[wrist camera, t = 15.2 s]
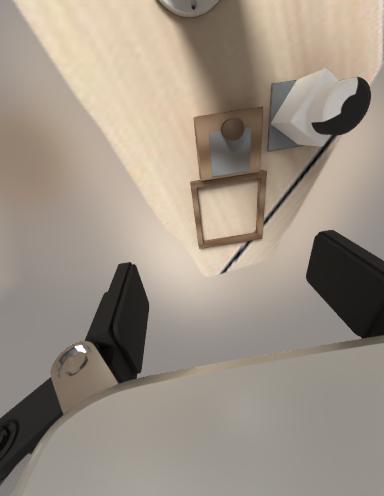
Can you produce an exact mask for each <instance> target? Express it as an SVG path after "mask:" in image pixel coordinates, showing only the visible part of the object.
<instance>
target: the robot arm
mask: <svg viewBox="0 0 384 496" xmlns="http://www.w3.org/2000/svg"><path fill="white" fill-rule="evenodd" d="M159 1H160V2H161V4H162V5H163V6H165V7H166V8H167V9H168V10H170V11H171V12H173V13H175V14H177V15H179V16H183V17H197V16H199V15H202V14H205V13H206V12H208V11H209V10H211V9H212V8H213V7H214V6H215V5H216V4H217V3H218V2H219V0H159ZM192 6H194V7H195V10H193V9H192ZM306 279H307V281H308V283H309V284H310V285H311V286H312V287H313V288H314V289H315V290H316V291H317V292H318V294H319V295H320V296H321V297H322V298H323V299H324V300H325V301H326V302H327V304H329V306H330V307H331V308H332V309H333V310H334V311H335V312H336V313H337V315H338V316H339V317H340V318H341V319H342V320H343V321H344V322H345V323H346V324H347V326H348V327H349V328H350V329H351V330H352V331H353V332H354V333H355V334H356V335H358V336H360V337H361V338H362V339H358V340H352V341H346V342H340V343H333V344H328V345H322V346H316V347H309V348H304V349H297V350H291V351H286V352H279V353H274V354H267V355H261V356H256V357H250V358H244V359H238V360H232V361H227V362H221V363H215V364H209V365H204V366H198V367H192V368H187V369H182V370H176V371H171V372H166V373H160V374H155V375H150V376H146V377H142V378H138V379H137V374H138V373H140V372H141V369H142V362H143V353H144V345H145V337H146V329H147V321H148V313H149V302H148V299H147V296H146V293H145V290H144V287H143V284H142V281H141V278H140V276H139V273H138V270H137V267H136V265H135V264H133V265H132V263H131V262H128V263H122V264H119V265H118V267H117V270H116V272H115V275H114V278H113V280H112V282H111V285H110V288H109V290H108V292H106V293H104V295H103V297H102V300H101V302H100V304H99V307H98V309H97V312H96V314H95V317H94V319H93V322H92V324H91V327H90V329H89V331H88V334H87V336H86V339H85V341H80V342H77V343H74V344H72V345H71V346H69V347H67V348H66V349H65V350H64V351H62V352H61V353H60V355H59V356H58V357H57V358H56V360H55V361H54V363H53V365H52V368H51V371H50V373H51V377H50V378H49V379H48V380H47V381H46V382H44V383H43V384H42V385H41V386H39V387H38V388H37V389H36V390H34V392H32V393H31V394H30V395H28V396H27V397H26V398H25V399H23V400H22V401H21V402H20V403H18V404H17V405H16V406H15V407H14V408H12V409H11V410H10V411H9V412H8V413H6V414H5V415H4V416H3V417H1V418H0V496H384V261H383V260H382V259H380V258H378V257H377V256H375V255H373V254H372V253H370V252H368V251H367V250H365V249H363V248H362V247H360V246H359V245H357V244H355V243H354V242H352V241H350V240H349V239H347V238H345V237H344V236H342V235H340V234H339V233H337V232H335V231H334V230H328V231H322V232H319V233H318V235H316V236H315V239H314V243H313V248H312V252H311V256H310V260H309V265H308V269H307V274H306Z"/></svg>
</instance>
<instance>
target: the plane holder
mask: <svg viewBox="0 0 384 496" xmlns="http://www.w3.org/2000/svg"><path fill="white" fill-rule="evenodd" d="M262 118H263V107H257V108H250V109H244V110H237V111H230V112H224V113H217V114H211V115H204V116H197V117H194V127H195V136H196V146H197V156H198V165H199V175H200V179H201V180H198V181H191V182H190V184H191V192H192V199H193V207H194V215H195V222H196V230H197V238H198V245H199V249H200V248H206V247H212V246H218V245H225V244H231V243H237V242H244V241H250V240H256V239H262V236H263V221H264V206H265V191H266V176H267V171H264V170H262V171H260V159H261V139H262ZM256 178H258V199H257V221H256V233H250V234H244V235H237V236H231V237H225V238H219V239H212V240H206V241H203V239H202V231H201V222H200V213H199V205H198V196H197V188H198V187H205V186H211V185H217V184H224V183H230V182H237V181H243V180H250V179H256Z"/></svg>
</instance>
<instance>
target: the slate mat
mask: <svg viewBox="0 0 384 496" xmlns="http://www.w3.org/2000/svg"><path fill="white" fill-rule="evenodd" d="M296 81H297V80H293V81H287V82H280V83H273V84H272V87H271V103H270V118H269V133H268V149H267V151H271V150H278V149H284V148H291V147H297V146H304V145H299V144H297V143H295V142H294V141H293V140H291V139H290V138H288V137H287V136H286V135H284V134H283V133H282V132H280V131H279V130H278V129H276V128H275V127H274V126H272V125H271V122H272V120H273V119H274V117H275V115H276V114H277V112H278V110H279V109H280V107H281V105H282V104H283V102H284V101H285V99H286V97H287V96H288V94H289V92H290V91H291V89H292V87H293V86H294V84H295V82H296Z"/></svg>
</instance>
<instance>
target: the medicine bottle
mask: <svg viewBox="0 0 384 496" xmlns="http://www.w3.org/2000/svg"><path fill="white" fill-rule="evenodd" d="M370 100H371V91H370V87H369V85H368V83H367V82H366V81H365V80H364V79H363V78H360V77H352V78H348V79H345V80H341V81H339V80H338V79H337V78H336V77H335V76H334V75H333V74H332V73H331V72H330V71H329V70H328V69H327V68H325V69H322V70H320V71H318V72H315V73H313V74H310V75H308V76H305V77H303V78H300V79H298V80H297V81H296V82H295V84H294V86H293V87H292V89H291V91H290V92H289V94H288V96H287V97H286V99H285V101H284V102H283V104H282V105H281V107H280V109H279V110H278V112H277V114H276V115H275V117H274V119H273V120H272V122H271V125H272V126H274V127H275V128H276V129H278V130H279V131H280V132H282V133H283V134H284V135H286V136H287V137H288V138H290V139H291V140H293V141H294V142H295V143H297V144H299V145H308V146H318V147H322V146H323V145H324V144H325V143H326V141H327V140H328V139H329V137H330V136H331V135H342V134H345V133H347V132H349V131H350V130H352V129H353V128H355V127H356V126H357V125H358V124H359V123H360V121H361V120H362V119H363V117H364V115H365V114H366V112H367V110H368V108H369V105H370Z"/></svg>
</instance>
